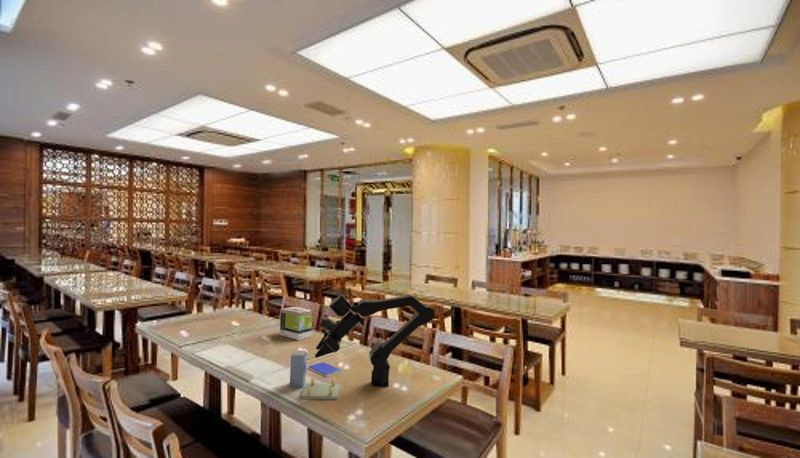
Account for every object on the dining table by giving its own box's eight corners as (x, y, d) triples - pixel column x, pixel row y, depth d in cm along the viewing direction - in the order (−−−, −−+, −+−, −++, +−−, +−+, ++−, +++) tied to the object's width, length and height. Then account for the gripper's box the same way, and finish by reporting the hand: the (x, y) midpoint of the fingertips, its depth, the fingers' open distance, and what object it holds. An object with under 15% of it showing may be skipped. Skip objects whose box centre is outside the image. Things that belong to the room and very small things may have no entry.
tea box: (312, 336, 214) (313, 309, 214) (298, 340, 206) (299, 312, 205) (292, 331, 222) (294, 305, 222) (278, 335, 214) (280, 308, 213)
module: (305, 382, 153) (306, 350, 153) (302, 387, 148) (304, 354, 148) (292, 382, 153) (294, 350, 153) (289, 387, 148) (291, 354, 148)
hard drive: (341, 369, 166) (323, 361, 174) (326, 374, 160) (308, 366, 168) (341, 373, 166) (323, 365, 174) (326, 378, 160) (308, 369, 168)
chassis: (340, 386, 151) (340, 377, 151) (337, 399, 140) (337, 389, 140) (306, 385, 150) (306, 376, 150) (300, 398, 140) (301, 388, 139)
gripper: (332, 305, 162) (303, 331, 160) (332, 315, 143) (299, 345, 142) (350, 324, 163) (322, 350, 161) (352, 337, 145) (320, 367, 143)
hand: (316, 352), depth 152 cm, fingers open, 9 cm apart
